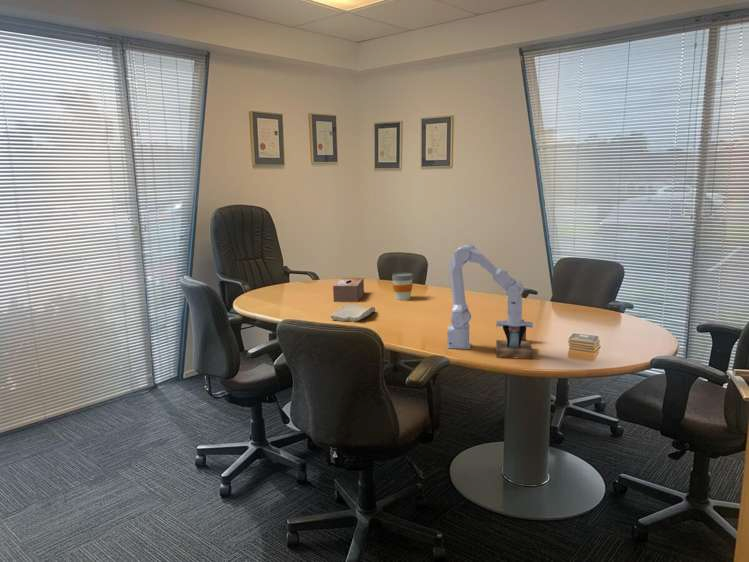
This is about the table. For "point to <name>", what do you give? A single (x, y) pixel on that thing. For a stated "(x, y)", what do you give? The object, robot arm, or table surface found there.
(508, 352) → the socket block
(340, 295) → the tissue box cover
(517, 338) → the peg
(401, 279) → the reusable coffee cup
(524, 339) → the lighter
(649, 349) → the table surface
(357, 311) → the folded grey cloth
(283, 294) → the table surface
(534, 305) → the table surface
